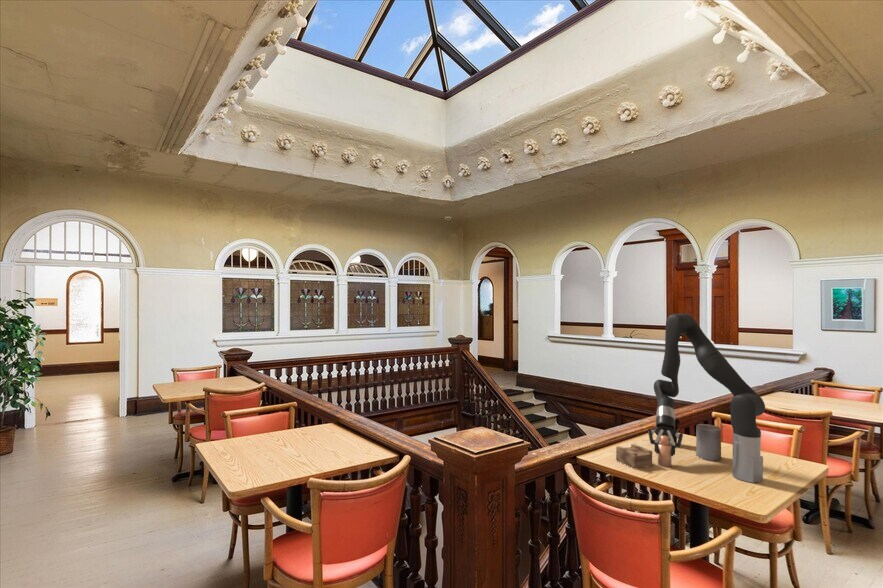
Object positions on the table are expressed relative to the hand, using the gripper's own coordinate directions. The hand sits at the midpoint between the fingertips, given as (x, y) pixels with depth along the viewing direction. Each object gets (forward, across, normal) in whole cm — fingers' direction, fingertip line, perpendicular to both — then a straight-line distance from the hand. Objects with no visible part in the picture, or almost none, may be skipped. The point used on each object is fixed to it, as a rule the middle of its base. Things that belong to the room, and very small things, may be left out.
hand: (664, 453), depth 193 cm
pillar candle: (-12, +17, +20) cm, 29 cm away
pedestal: (+6, -12, +2) cm, 13 cm away
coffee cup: (-21, +2, +29) cm, 36 cm away
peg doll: (+2, 0, +5) cm, 6 cm away
